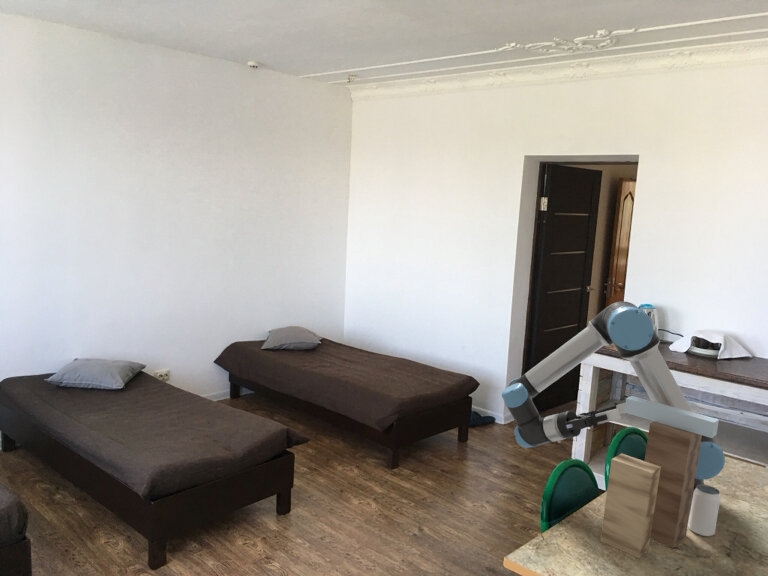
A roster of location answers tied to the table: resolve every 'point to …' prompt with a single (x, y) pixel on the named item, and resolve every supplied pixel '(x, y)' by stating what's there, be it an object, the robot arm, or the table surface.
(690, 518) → the can
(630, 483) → the oak step
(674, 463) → the walnut block
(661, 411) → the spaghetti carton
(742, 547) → the table surface
